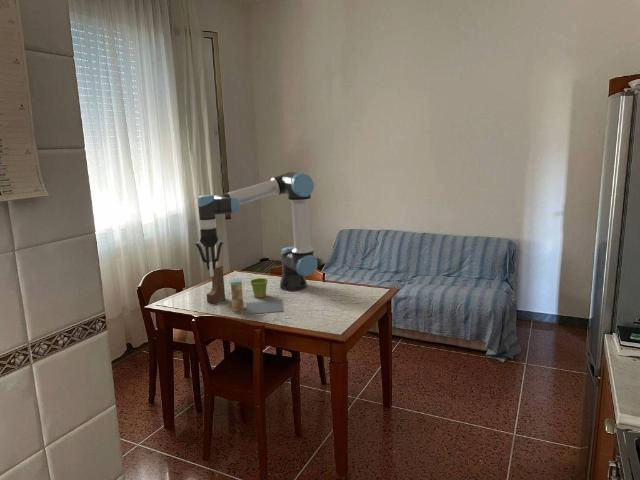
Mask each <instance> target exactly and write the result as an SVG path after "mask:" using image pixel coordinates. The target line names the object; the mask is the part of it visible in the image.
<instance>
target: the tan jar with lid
mask: <svg viewBox="0 0 640 480" xmlns="http://www.w3.org/2000/svg"><path fill="white" fill-rule="evenodd" d="M230 291H231V292H230V294H231V301H232V303H231V304H232V312H233V313H235V312H236V313H237V312H244V307H245V306H244V297H243V283H242V278H235V279H230Z"/></svg>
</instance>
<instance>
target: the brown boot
mask: <svg viewBox="0 0 640 480" xmlns="http://www.w3.org/2000/svg"><path fill="white" fill-rule="evenodd" d="M213 272H214V276H211V283H212V286H211V290H210V291H209V292H208V293H206V301H207V303H211V304H215V303H218V302H220V301H221V300H224V299H226V292H225V278H224V268H223V265H218V264H215V269H213Z"/></svg>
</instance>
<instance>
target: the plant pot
mask: <svg viewBox="0 0 640 480" xmlns="http://www.w3.org/2000/svg"><path fill="white" fill-rule="evenodd" d="M268 281H269V279H267V278H263V277H262V278H261V277H260V278H259V277H257V278H253V279H251V280H250V281H249V284H250V285H251V287H252V291H253V295H254V298H257V299H260V298H265V297H266V296H267V285H268Z"/></svg>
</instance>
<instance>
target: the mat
mask: <svg viewBox="0 0 640 480" xmlns="http://www.w3.org/2000/svg"><path fill="white" fill-rule="evenodd" d="M245 306H246V309H245V311H246V312H245V314H246V315H257V314H271V313H282V312H283V313H284V305H283V300H282V299H281V300H279V299H278V300H266V301H255V302H252V301H251V302H246V305H245Z"/></svg>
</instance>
